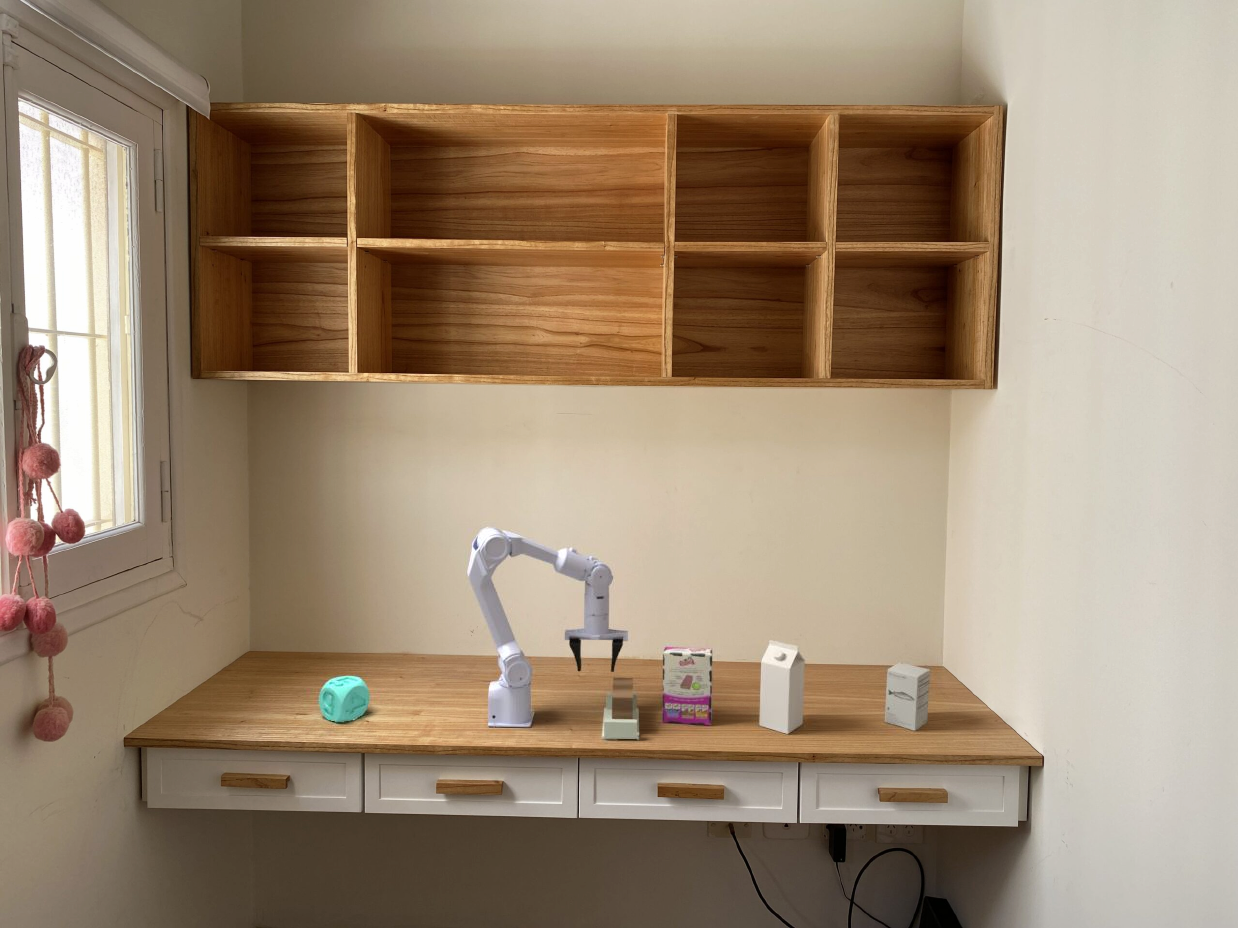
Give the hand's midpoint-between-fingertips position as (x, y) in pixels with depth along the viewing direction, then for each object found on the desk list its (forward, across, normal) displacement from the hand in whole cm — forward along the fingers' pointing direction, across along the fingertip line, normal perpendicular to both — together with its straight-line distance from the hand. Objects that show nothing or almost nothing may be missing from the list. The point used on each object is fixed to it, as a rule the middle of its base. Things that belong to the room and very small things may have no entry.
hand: (596, 670), depth 190 cm
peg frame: (+10, +6, -7) cm, 14 cm away
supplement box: (+10, +71, -3) cm, 72 cm away
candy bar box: (+10, +21, -4) cm, 24 cm away
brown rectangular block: (+7, +6, -7) cm, 12 cm away
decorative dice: (+10, -57, -5) cm, 58 cm away
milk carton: (+10, +42, -6) cm, 44 cm away
